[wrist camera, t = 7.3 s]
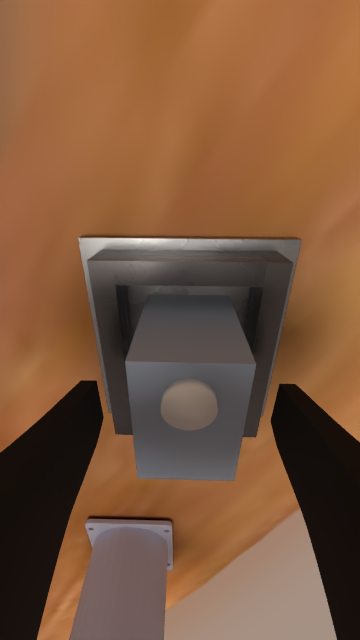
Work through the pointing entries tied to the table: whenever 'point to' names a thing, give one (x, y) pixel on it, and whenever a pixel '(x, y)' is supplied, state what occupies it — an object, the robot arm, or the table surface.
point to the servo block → (188, 387)
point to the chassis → (186, 279)
